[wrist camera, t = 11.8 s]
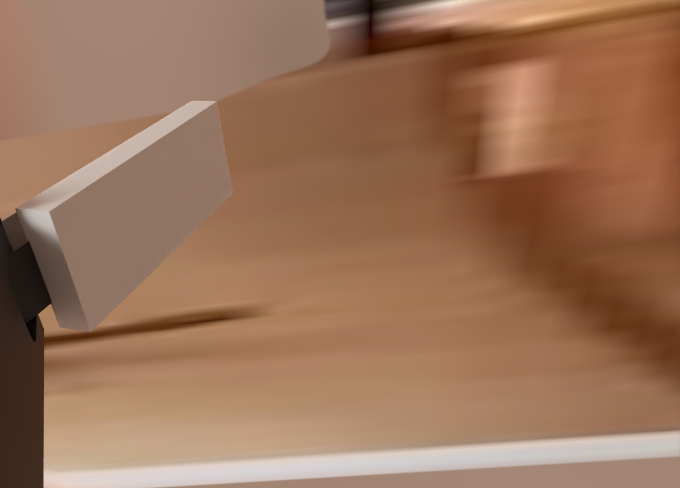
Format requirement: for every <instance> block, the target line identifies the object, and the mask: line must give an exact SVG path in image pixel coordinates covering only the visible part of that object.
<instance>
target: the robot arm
mask: <svg viewBox="0 0 680 488" xmlns="http://www.w3.org/2000/svg"><path fill="white" fill-rule="evenodd" d="M232 194H233V191H232V186H231V180H230V174H229V168H228V163H227V157H226V151H225V146H224V140H223V134H222V129H221V123H220V117H219V111H218V106H217V101H191V102H189V103H188V104H186V105H184V106H183V107H181V108H179V109H178V110H176V111H174V112H173V113H171V114H169V115H168V116H166V117H165V118H163V119H161V120H160V121H158V122H156V123H155V124H153V125H151V126H150V127H148V128H147V129H145V130H143V131H142V132H140V133H138V134H137V135H135V136H133V137H132V138H130V139H129V140H127V141H125V142H124V143H122V144H120V145H119V146H117V147H115V148H114V149H112V150H111V151H109V152H107V153H106V154H104V155H102V156H101V157H99V158H97V159H96V160H94V161H93V162H91V163H89V164H88V165H86V166H84V167H83V168H81V169H79V170H78V171H76V172H74V173H73V174H71V175H70V176H68V177H66V178H65V179H63V180H61V181H60V182H58V183H56V184H55V185H53V186H52V187H50V188H48V189H47V190H45V191H43V192H42V193H40V194H38V195H37V196H35V197H34V198H32V199H30V200H29V201H27V202H25V203H24V204H22V205H20V206H19V207H17V208H16V213H15V214H13V215H11V216H10V217H8V218H7V219H5V220H3V221H1V219H0V488H43V455H44V328H43V326H42V323H41V321H40V318H39V316H38V314H39V313H40V312H41V311H42V310H44V309H45V308H46V307H47V306H48V305H49V304H51V305H52V308H53V310H54V313H55V316H56V318H57V321H58V324H59V326H60V327H61V328H68V329H74V330H81V331H87V332H91V331H92V330H93V329H94V328H95V327H96V326H97V325H98V324H99V323H101V322H102V321H103V320H104V319H105V318H106V317H107V316H108V315H109V314H110V313H111V312H112V311H113V310H114V309H115V308H116V307H117V306H118V305H119V304H120V303H121V302H122V301H123V300H124V299H125V298H126V297H127V296H128V295H129V294H130V293H131V292H132V291H133V290H134V289H135V288H136V287H138V286H139V285H140V284H141V283H142V282H143V281H144V280H145V279H146V278H147V277H148V276H149V275H150V274H151V273H152V272H153V271H154V270H155V269H156V268H157V267H158V266H159V265H160V264H161V263H162V262H163V261H164V260H165V259H166V258H167V257H168V256H169V255H170V254H171V253H172V252H173V251H175V250H176V249H177V248H178V247H179V246H180V245H181V244H182V243H183V242H184V241H185V240H186V239H187V238H188V237H189V236H190V235H191V234H192V233H193V232H194V231H195V230H196V229H197V228H198V227H199V226H200V225H201V224H202V223H203V222H204V221H205V220H206V219H207V218H208V217H209V216H210V215H212V214H213V213H214V212H215V211H216V210H217V209H218V208H219V207H220V206H221V205H222V204H223V203H224V202H225V201H226V200H227V199H228V198H229V197H230V196H231V195H232Z"/></svg>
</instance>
